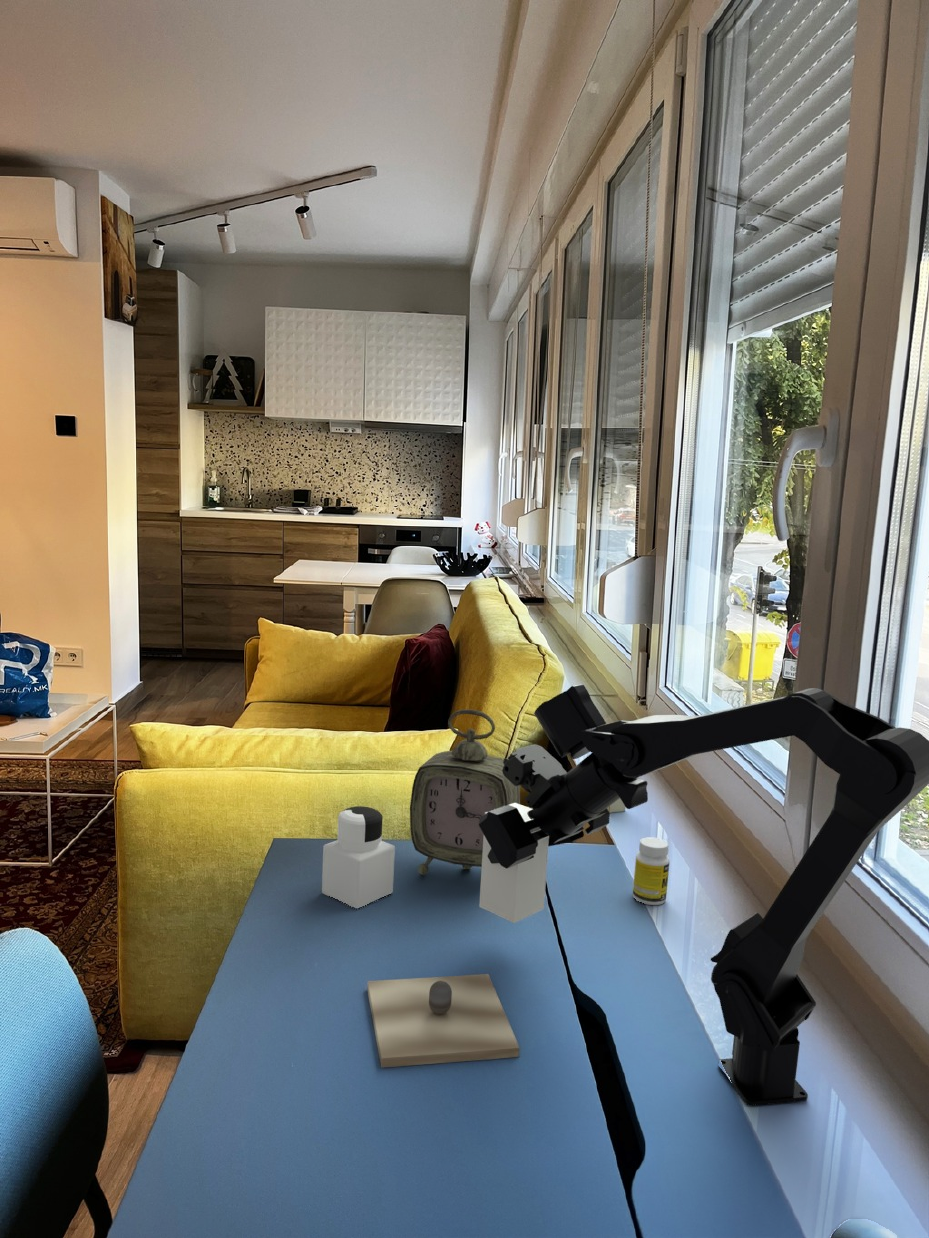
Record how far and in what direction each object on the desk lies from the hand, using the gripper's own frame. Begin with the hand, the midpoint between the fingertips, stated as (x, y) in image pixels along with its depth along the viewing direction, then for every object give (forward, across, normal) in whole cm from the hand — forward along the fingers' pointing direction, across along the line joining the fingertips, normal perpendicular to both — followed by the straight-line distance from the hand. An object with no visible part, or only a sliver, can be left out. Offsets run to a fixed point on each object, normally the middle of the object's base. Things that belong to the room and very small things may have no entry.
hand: (506, 853), depth 112 cm
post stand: (+5, +16, +13) cm, 22 cm away
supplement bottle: (+6, -27, +12) cm, 30 cm away
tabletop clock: (+22, -12, -4) cm, 25 cm away
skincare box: (+24, -54, -6) cm, 59 cm away
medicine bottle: (+25, +4, -7) cm, 27 cm away
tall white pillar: (+4, 0, +6) cm, 7 cm away
